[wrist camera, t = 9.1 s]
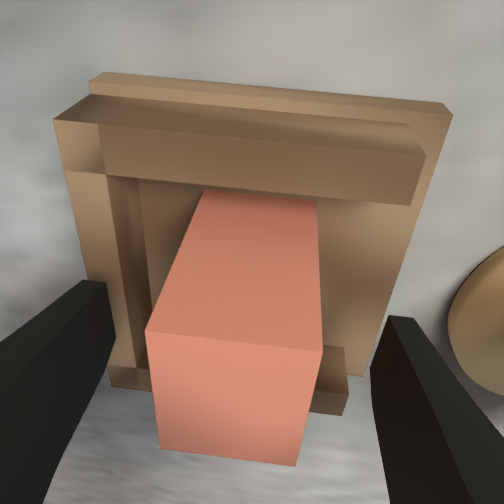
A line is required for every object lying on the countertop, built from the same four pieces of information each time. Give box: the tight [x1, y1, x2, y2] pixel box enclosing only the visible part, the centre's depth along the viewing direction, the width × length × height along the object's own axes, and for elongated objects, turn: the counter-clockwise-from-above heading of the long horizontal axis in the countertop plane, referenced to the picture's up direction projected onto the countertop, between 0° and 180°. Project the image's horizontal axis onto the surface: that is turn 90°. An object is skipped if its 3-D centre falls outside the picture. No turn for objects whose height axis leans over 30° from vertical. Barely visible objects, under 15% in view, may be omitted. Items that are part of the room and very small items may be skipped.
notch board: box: [53, 72, 453, 416], centre depth 13 cm, size 10×9×3 cm
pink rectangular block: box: [145, 189, 323, 467], centre depth 11 cm, size 4×3×6 cm
